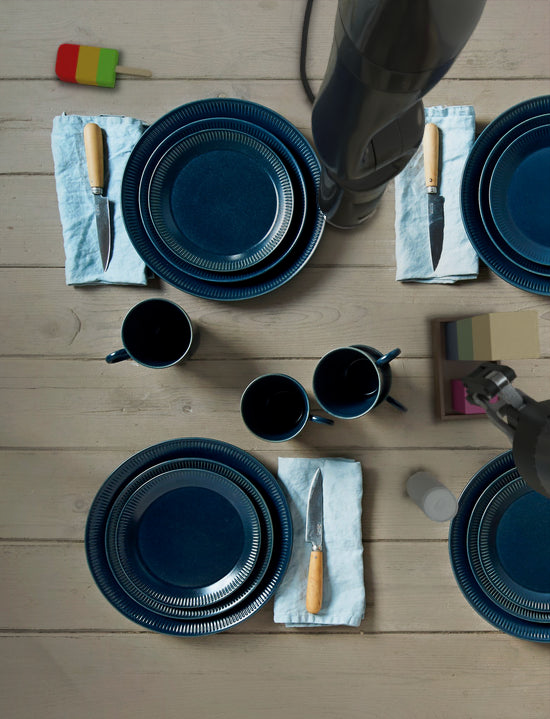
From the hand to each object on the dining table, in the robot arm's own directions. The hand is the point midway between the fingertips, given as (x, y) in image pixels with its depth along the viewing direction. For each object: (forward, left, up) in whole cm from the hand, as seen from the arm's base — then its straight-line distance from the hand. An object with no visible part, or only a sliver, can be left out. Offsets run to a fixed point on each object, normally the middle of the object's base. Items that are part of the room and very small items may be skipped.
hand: (503, 428), depth 53 cm
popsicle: (-55, -47, -34) cm, 80 cm away
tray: (-5, +6, -34) cm, 35 cm away
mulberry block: (-1, +6, -34) cm, 34 cm away
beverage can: (+13, -1, -34) cm, 37 cm away
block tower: (-9, +6, -34) cm, 36 cm away
